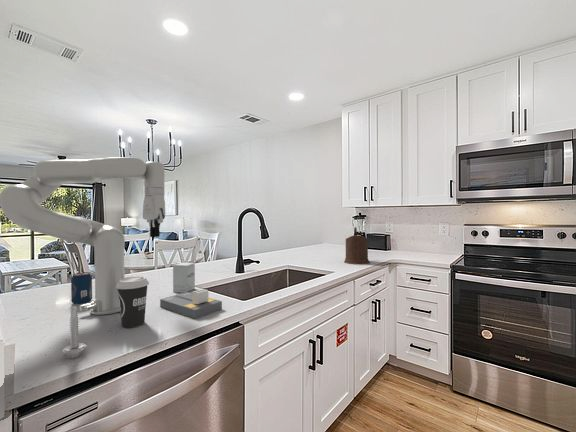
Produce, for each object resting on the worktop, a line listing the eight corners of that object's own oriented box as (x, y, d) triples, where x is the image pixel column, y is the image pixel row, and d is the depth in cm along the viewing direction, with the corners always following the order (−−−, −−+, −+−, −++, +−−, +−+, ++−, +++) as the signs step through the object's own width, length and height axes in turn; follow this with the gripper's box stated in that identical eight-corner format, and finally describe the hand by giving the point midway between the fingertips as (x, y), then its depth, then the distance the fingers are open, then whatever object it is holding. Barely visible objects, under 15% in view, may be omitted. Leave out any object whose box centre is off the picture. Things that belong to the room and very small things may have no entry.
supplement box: (187, 292, 129) (186, 265, 129) (172, 292, 130) (172, 265, 130) (195, 288, 136) (195, 262, 136) (181, 287, 138) (181, 262, 137)
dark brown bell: (344, 264, 198) (344, 228, 197) (343, 258, 221) (343, 227, 221) (371, 264, 194) (371, 228, 194) (367, 259, 218) (367, 227, 218)
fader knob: (197, 304, 102) (197, 293, 102) (192, 302, 103) (191, 291, 103) (208, 300, 106) (208, 289, 106) (203, 299, 108) (203, 288, 108)
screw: (88, 355, 72) (64, 363, 69) (83, 349, 75) (60, 356, 72) (87, 305, 72) (63, 310, 68) (82, 301, 75) (59, 306, 72)
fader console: (195, 318, 97) (195, 309, 97) (160, 306, 110) (160, 298, 110) (221, 309, 107) (221, 300, 107) (187, 299, 120) (186, 291, 119)
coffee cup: (126, 332, 86) (125, 283, 86) (110, 326, 91) (109, 280, 91) (155, 322, 94) (154, 277, 94) (139, 316, 99) (138, 274, 99)
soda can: (69, 302, 116) (69, 273, 115) (90, 298, 121) (89, 271, 121) (73, 306, 111) (73, 276, 111) (94, 302, 116) (93, 273, 116)
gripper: (136, 192, 117) (136, 236, 117) (155, 191, 108) (155, 238, 109) (154, 193, 123) (154, 235, 123) (173, 192, 114) (173, 237, 115)
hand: (154, 236), depth 116 cm, fingers closed
